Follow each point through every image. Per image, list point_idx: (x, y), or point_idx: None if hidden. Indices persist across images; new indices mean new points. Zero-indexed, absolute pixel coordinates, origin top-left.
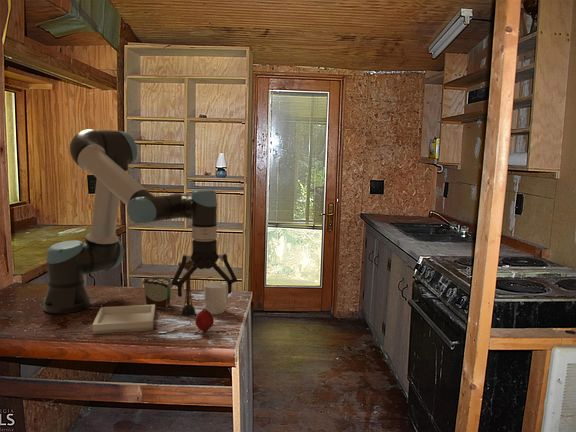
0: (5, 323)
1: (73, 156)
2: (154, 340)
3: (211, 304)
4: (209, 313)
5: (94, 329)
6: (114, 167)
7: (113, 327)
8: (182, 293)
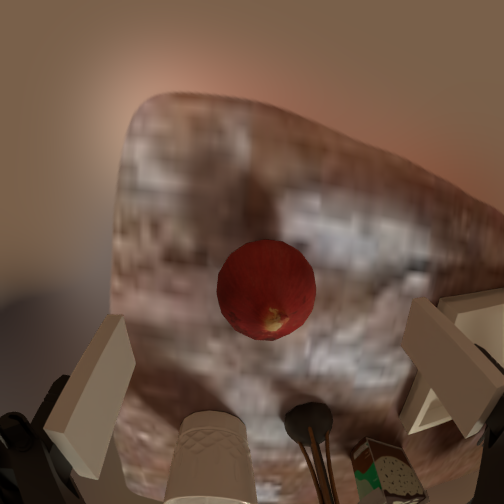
0: None
1: None
2: (447, 209)
3: (226, 440)
4: (241, 299)
5: None
6: None
7: None
8: (477, 352)
